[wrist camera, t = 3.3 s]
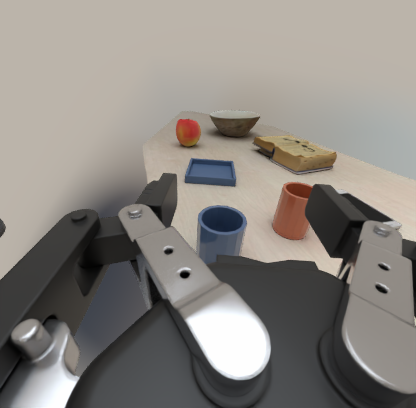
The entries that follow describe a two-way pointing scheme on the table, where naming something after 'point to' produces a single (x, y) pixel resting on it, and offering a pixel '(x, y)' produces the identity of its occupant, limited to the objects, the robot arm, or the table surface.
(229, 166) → the blue tray
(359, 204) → the smartphone
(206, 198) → the table surface
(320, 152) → the book
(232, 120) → the bowl
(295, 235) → the terracotta cup
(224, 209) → the blue cup
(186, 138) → the apple
